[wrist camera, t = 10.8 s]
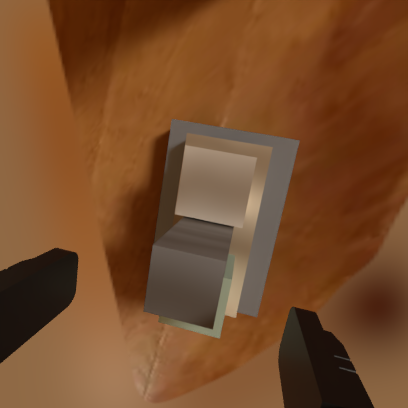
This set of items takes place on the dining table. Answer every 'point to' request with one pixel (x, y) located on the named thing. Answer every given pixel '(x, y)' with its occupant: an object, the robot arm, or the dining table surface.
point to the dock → (269, 205)
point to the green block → (220, 309)
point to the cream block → (215, 186)
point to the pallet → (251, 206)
